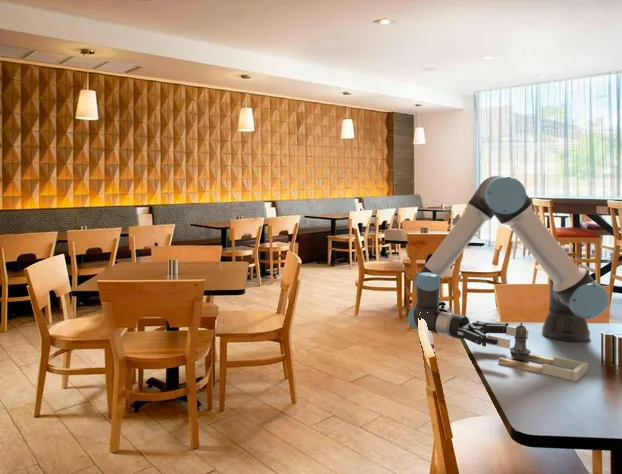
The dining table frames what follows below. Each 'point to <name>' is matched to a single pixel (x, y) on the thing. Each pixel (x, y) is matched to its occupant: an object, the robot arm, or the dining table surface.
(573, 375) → the socket
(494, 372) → the dining table surface
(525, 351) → the dark stone chess piece
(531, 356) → the channel
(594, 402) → the dining table surface
